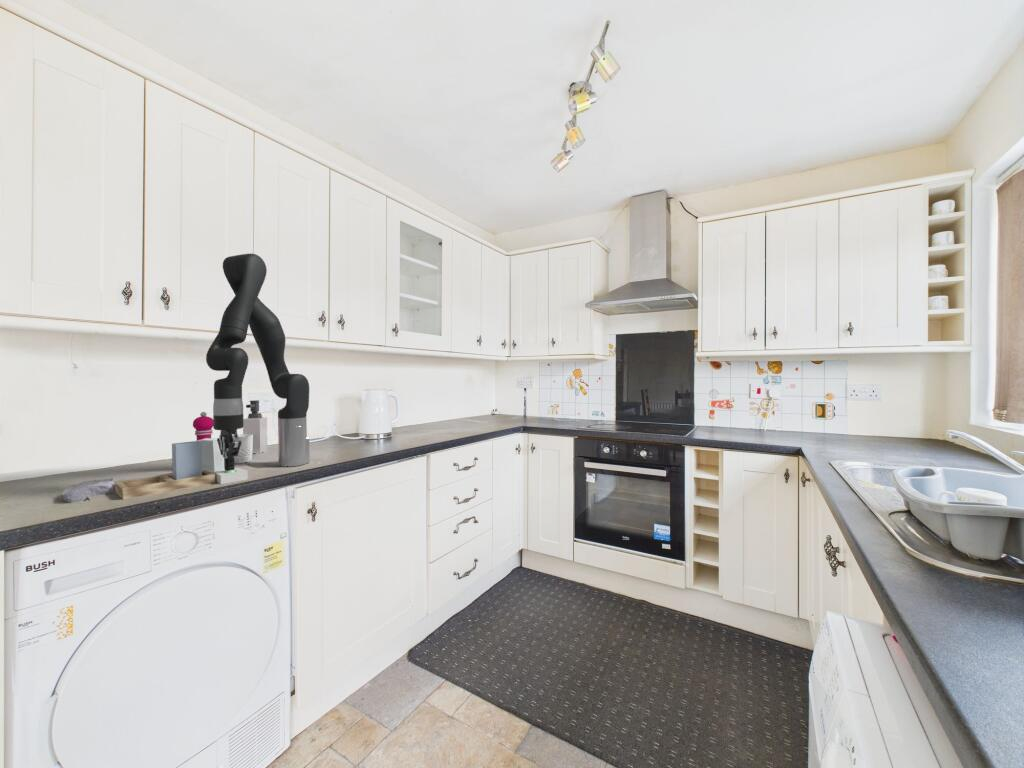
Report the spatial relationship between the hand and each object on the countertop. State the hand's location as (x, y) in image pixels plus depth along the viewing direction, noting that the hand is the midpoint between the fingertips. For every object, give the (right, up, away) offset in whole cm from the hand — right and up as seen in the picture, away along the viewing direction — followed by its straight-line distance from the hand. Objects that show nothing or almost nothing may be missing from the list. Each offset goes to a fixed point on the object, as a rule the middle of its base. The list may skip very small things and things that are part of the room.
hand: (229, 469), depth 124 cm
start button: (0, -2, 0) cm, 2 cm away
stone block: (-30, -5, -13) cm, 33 cm away
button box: (0, -4, 0) cm, 4 cm away
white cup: (-16, -4, +30) cm, 34 cm away
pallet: (-12, -4, -8) cm, 15 cm away
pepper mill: (-22, -4, +19) cm, 29 cm away
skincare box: (-12, -4, +9) cm, 16 cm away
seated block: (-10, -3, -4) cm, 11 cm away
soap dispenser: (-22, -3, +47) cm, 52 cm away
